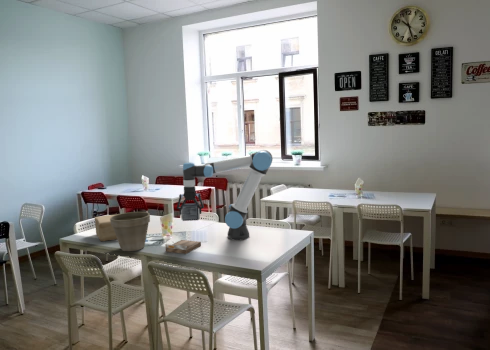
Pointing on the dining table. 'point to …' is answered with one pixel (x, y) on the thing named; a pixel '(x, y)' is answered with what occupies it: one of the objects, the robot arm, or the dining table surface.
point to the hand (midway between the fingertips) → (190, 218)
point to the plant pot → (131, 229)
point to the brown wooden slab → (182, 246)
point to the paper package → (104, 228)
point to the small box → (190, 212)
